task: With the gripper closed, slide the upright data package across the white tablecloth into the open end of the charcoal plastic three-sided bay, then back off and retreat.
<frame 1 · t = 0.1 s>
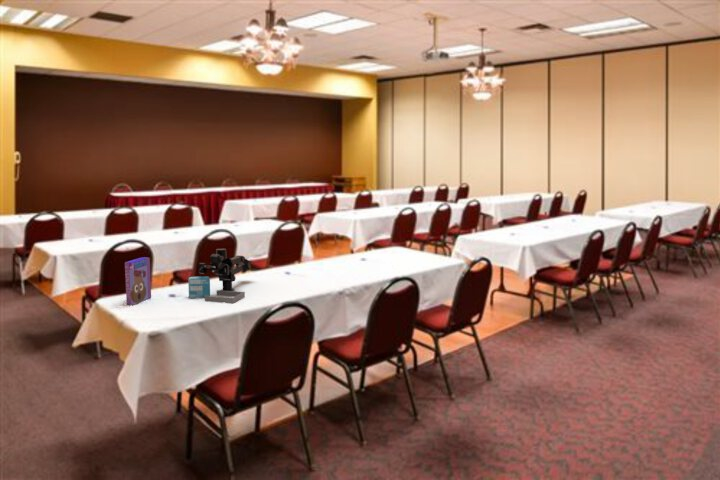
hand: (206, 271, 346), 17 cm above the table, tool horizontal, fingers open, 9 cm apart
data package: (199, 297, 356), on the table
cereal box: (139, 301, 345), on the table
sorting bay: (224, 299, 352), on the table
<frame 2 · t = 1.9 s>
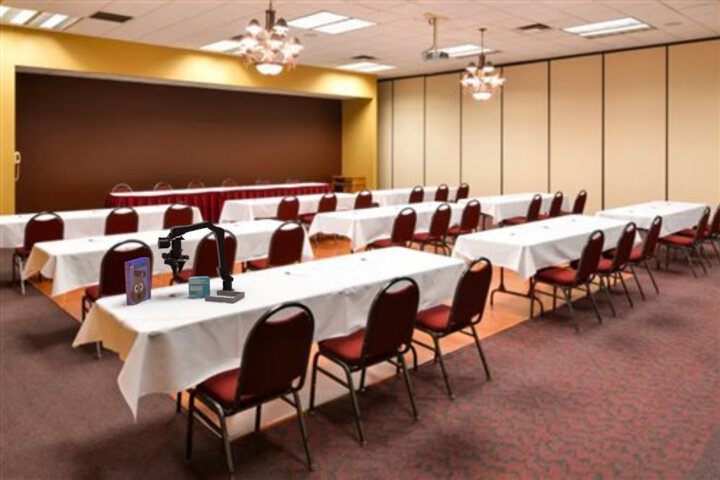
hand: (177, 274, 357), 13 cm above the table, tool pointing down, fingers open, 5 cm apart
nothing on the table moved.
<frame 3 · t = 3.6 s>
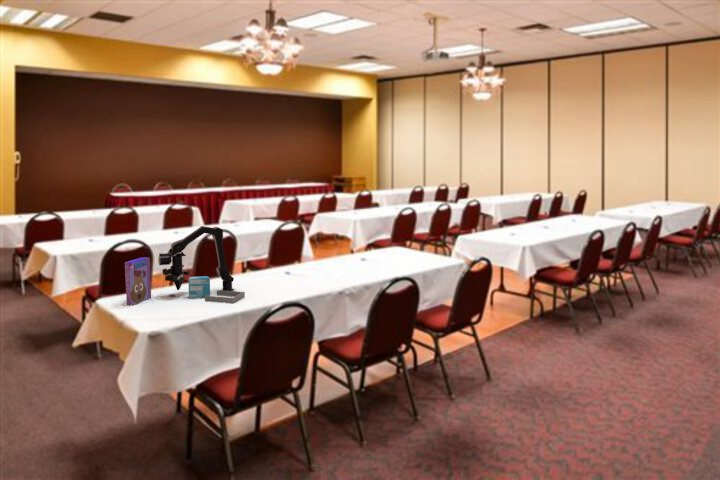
hand: (178, 289, 358), 3 cm above the table, tool pointing down, fingers closed
nothing on the table moved.
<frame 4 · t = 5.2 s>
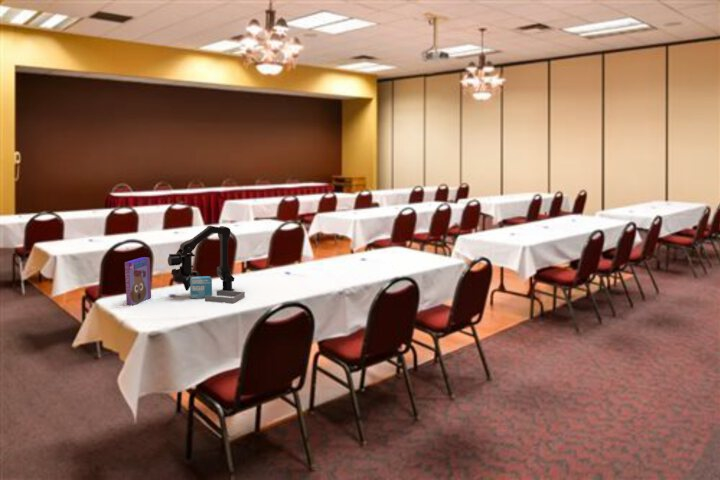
hand: (187, 290, 357), 4 cm above the table, tool pointing down, fingers closed
data package: (201, 297, 355), on the table, touching gripper
everything else where it was.
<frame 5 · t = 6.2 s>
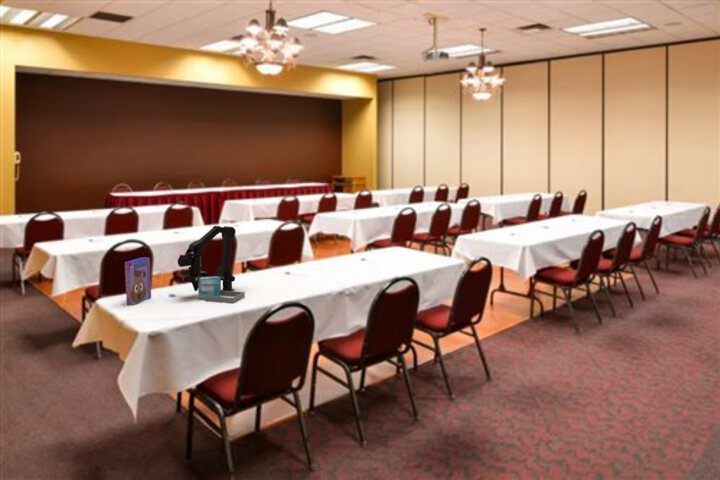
hand: (196, 291, 355), 4 cm above the table, tool pointing down, fingers closed
data package: (209, 297, 354), on the table, touching gripper
everything else where it was.
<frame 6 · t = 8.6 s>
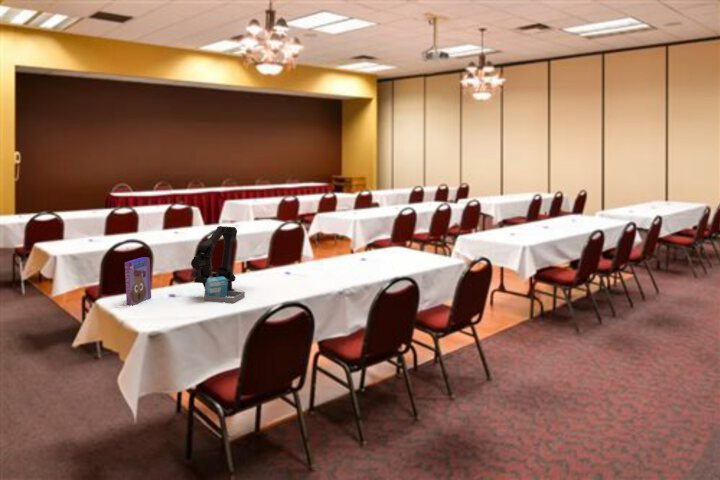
hand: (207, 291, 354), 4 cm above the table, tool pointing down, fingers closed
data package: (215, 297, 353), on the table, touching gripper
everything else where it was.
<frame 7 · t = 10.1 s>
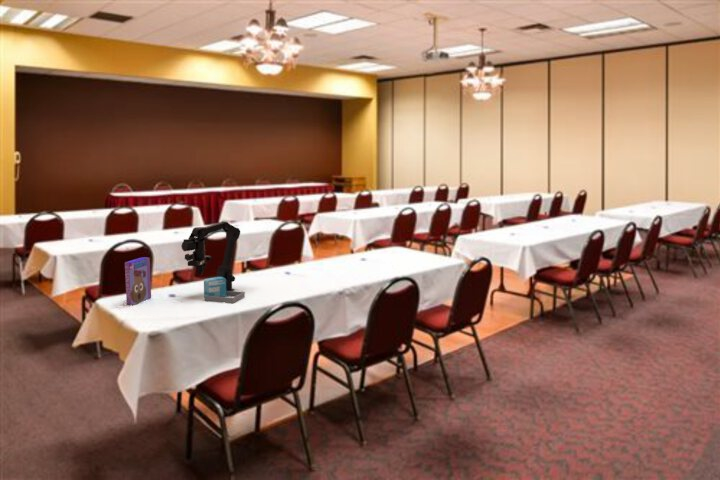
hand: (200, 275, 356), 13 cm above the table, tool pointing down, fingers closed
data package: (215, 298, 353), on the table
everything else where it was.
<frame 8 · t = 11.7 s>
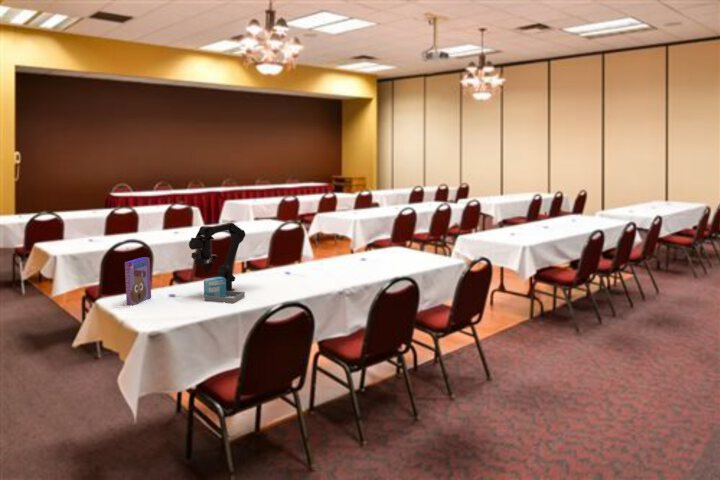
hand: (207, 273, 359), 13 cm above the table, tool pointing down, fingers closed
nothing on the table moved.
at the end: data package inside the target area on the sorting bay (5.6 cm from its centre), point 0.0 cm above the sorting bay's base; data package tilted 0°; data package moved 10.2 cm from its start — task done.
